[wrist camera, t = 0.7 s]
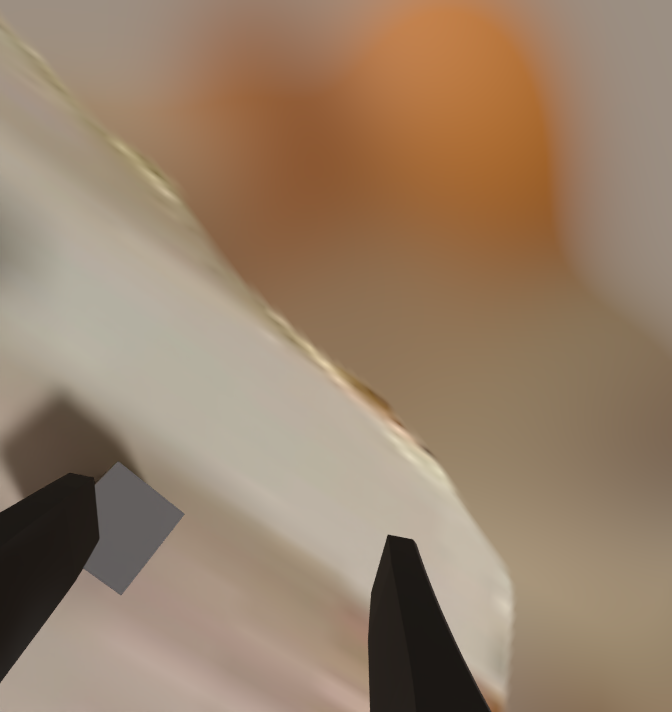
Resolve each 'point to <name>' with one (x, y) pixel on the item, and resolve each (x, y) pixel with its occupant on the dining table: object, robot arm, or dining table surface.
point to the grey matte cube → (128, 526)
